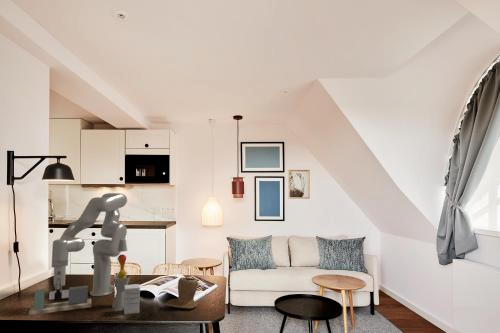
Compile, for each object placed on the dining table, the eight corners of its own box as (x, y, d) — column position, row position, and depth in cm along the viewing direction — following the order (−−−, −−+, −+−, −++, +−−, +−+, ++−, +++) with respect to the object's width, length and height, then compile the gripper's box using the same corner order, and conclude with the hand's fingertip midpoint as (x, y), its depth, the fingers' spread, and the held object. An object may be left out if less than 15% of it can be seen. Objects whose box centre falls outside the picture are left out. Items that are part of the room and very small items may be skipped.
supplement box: (123, 310, 174) (124, 284, 175) (138, 308, 177) (139, 283, 178) (123, 314, 167) (124, 288, 168) (139, 313, 170) (140, 287, 171)
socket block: (44, 305, 176) (45, 289, 177) (43, 309, 170) (44, 292, 171) (35, 306, 175) (36, 290, 175) (33, 310, 168) (34, 293, 169)
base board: (91, 301, 187) (91, 298, 187) (91, 306, 178) (91, 304, 179) (31, 308, 175) (31, 305, 175) (28, 315, 166) (28, 312, 166)
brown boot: (201, 304, 183) (202, 276, 185) (191, 311, 172) (191, 281, 173) (176, 301, 188) (177, 274, 189) (165, 308, 177) (165, 279, 178)
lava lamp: (109, 304, 182) (112, 238, 185) (127, 301, 187) (129, 237, 190) (113, 309, 175) (115, 240, 178) (131, 306, 180) (133, 239, 182)
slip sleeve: (87, 300, 184) (87, 285, 185) (87, 303, 180) (88, 287, 181) (68, 302, 180) (69, 287, 181) (68, 305, 176) (68, 289, 177)
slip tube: (83, 294, 183) (84, 287, 183) (83, 295, 180) (84, 289, 180) (49, 297, 176) (49, 291, 176) (49, 299, 173) (49, 293, 173)
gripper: (67, 265, 172) (65, 302, 171) (68, 259, 187) (66, 294, 185) (50, 267, 169) (48, 305, 167) (52, 261, 183) (50, 295, 182)
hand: (58, 298), depth 176 cm, fingers closed on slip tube, 3 cm apart
